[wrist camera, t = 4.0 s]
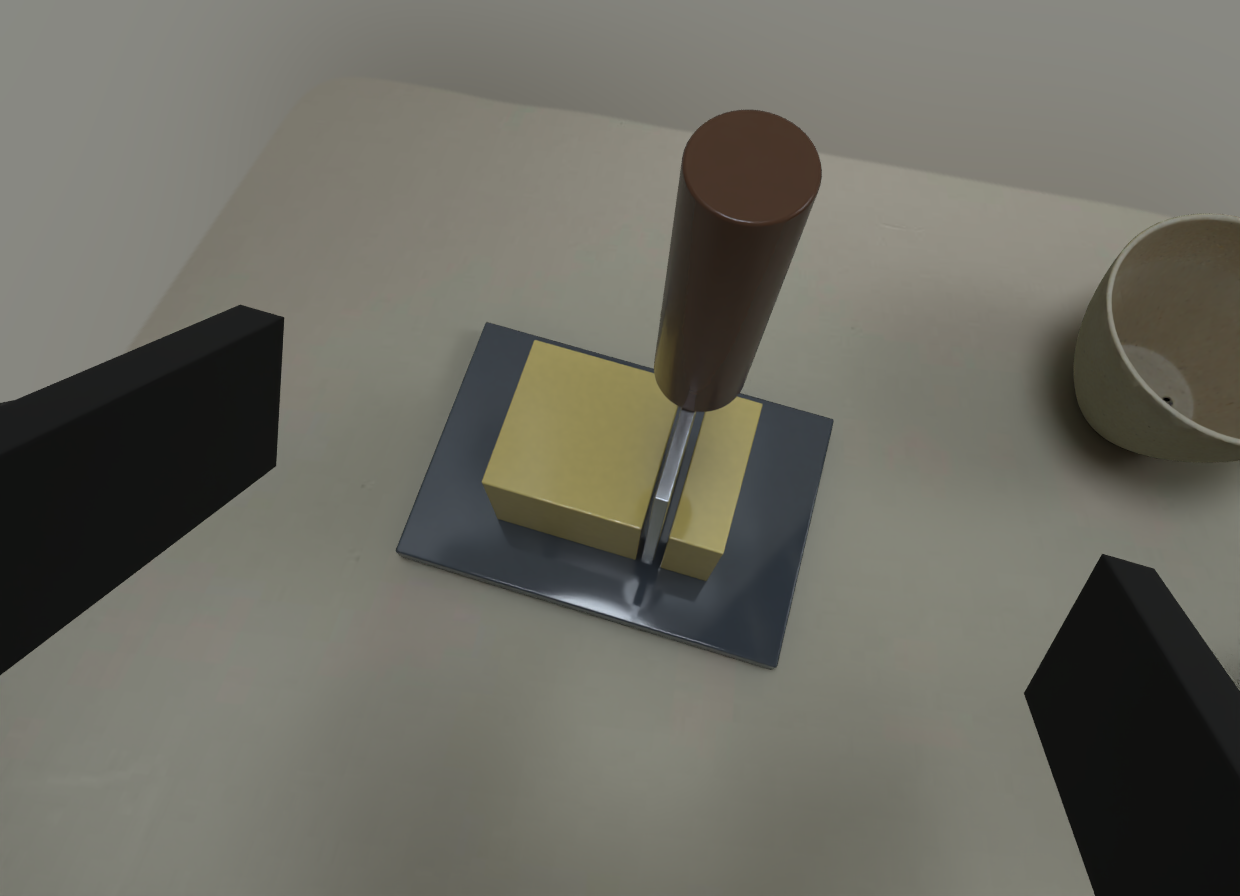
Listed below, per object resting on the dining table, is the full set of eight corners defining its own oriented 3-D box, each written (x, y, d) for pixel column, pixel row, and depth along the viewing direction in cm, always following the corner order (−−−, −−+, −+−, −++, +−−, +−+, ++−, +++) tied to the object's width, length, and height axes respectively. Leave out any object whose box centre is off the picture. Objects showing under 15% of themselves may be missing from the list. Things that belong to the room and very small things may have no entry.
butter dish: (399, 556, 36) (362, 519, 30) (488, 331, 40) (469, 260, 34) (772, 670, 35) (805, 653, 29) (828, 427, 38) (867, 370, 33)
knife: (611, 553, 31) (622, 331, 15) (671, 358, 33) (736, -9, 17) (681, 574, 31) (771, 373, 15) (736, 376, 33) (863, 21, 17)
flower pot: (1268, 503, 38) (1414, 448, 31) (1041, 504, 37) (1138, 449, 31) (1213, 301, 41) (1333, 211, 34) (1004, 301, 41) (1084, 210, 34)
